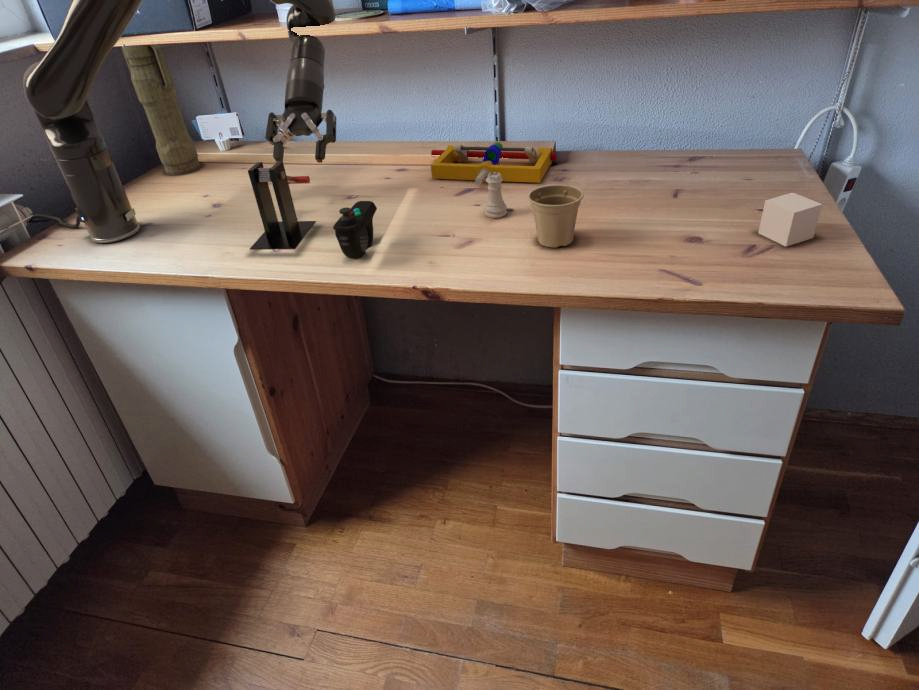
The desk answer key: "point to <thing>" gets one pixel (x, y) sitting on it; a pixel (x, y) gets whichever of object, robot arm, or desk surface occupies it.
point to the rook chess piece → (495, 197)
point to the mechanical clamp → (491, 163)
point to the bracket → (276, 232)
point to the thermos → (161, 107)
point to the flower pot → (555, 213)
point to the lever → (265, 175)
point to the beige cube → (789, 219)
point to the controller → (355, 229)
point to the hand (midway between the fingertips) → (298, 161)
